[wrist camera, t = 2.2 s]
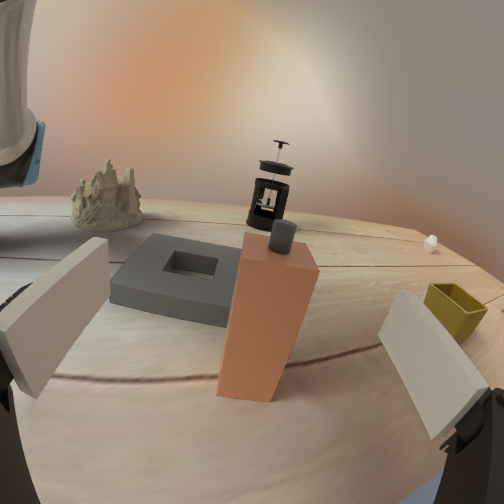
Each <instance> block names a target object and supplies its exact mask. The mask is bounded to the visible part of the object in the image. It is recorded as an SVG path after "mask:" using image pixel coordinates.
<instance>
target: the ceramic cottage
mask: <svg viewBox="0 0 504 504" xmlns="http://www.w3.org/2000/svg"><path fill="white" fill-rule="evenodd" d="M110 161H111V160H109V159H106V160H105V163H104V166H103V169H102V171H97V172H96V175H95V176H94V179H93V180H92V183H87V184H86V185H85V180H84V179H81V180H80V185H78V187H77V189H76V191H75V192H74V193H73V194H72V196H71V200H72V201H73V212H72V214H71V219H72V221H73V224H74V225H75V226H78V227H80V228H83V229H85V230H90V231H93V232H111V231H118V230H121V229H123V228H127V227H131V226H135V225H138V224H141V223H142V222H143V217H142V212H141V210H140V209H139V205H140V202H139V198H140V197H141V196H140V194H139V193H138V191H137V189H136V187H135V183H134V169H133V168H127V169H126V171H125V176H119V175H116V172H115V169H113V166H112V165H111V164H110Z"/></svg>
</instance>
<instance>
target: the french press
mask: <svg viewBox="0 0 504 504" xmlns="http://www.w3.org/2000/svg"><path fill="white" fill-rule="evenodd" d="M274 142H278V143H279V147H278V148H279V152H278V157H277V161H276V162H273V161H259V162H261V164H260V169H261V170H263V171H267V172H271V173H274V175H273V180H269V179H263V178H256V180H255V189H254V194H253V199H252V205H251V209H250V210H249V214H248V219H247V220H246V223H247V224H248V225H249V226H251V227H253V228H256V229H259V230H263V231H270V232H272V227H273V223H274V220H276V219H281V220H282V219H283V214H284V210H285V206H286V201H287V197H288V193H289V185H287V184H285V183H282V182H278V181H274V177H275V174H281V175H287V176H290V174H291V170H292V169H293V167H290V166H288V165H286V164H282V163H278V159H279V154H280V149H282V146H283V144H288V143H286V142H283V141H278V140H275V141H274ZM288 145H289V144H288ZM259 186H260V187H259ZM265 188H267V189H270V194H269V198H268V199H263V196H264V191H265ZM272 190H276V191H278V192H277V197H276V201H272V200H271V199H270V195H271V191H272ZM258 191H259V192H258ZM257 195H258V197H257ZM255 205H256V207H255ZM261 206H262V207H265V208H270V209H274V210H273V212H272V211H269V210H264V209H261Z"/></svg>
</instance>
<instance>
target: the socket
mask: <svg viewBox="0 0 504 504" xmlns="http://www.w3.org/2000/svg"><path fill="white" fill-rule="evenodd" d="M241 250H242V249H239V248H233V247H227V246H222V245H216V244H211V243H205V242H200V241H194V240H188V239H183V238H177V237H172V236H166V235H160V234H155V233H153V234H152V235H151V236H150V237H149V238H148V239H147V240H146V241H145V242H144V243H143V244H142V245H141V246H140V247H139V249H138V250H137V251H136V252H135V253H134V254H133V255H132V256H131V257H130V258H129V259H128V260H127V261H126V262H125V264H124V265H123V266H122V267H121V268H120V269H119V270H118V271H117V272H116V274H115V275H114V276H113V277H112V278H111V279H110V290H111V295H110V296H109V301H110V302H111V303H114V304H118V305H122V306H126V307H130V308H134V309H138V310H142V311H147V312H151V313H155V314H160V315H164V316H169V317H174V318H178V319H183V320H188V321H193V322H199V323H204V324H210V325H215V326H221V327H227V323H228V318H229V312H230V307H231V302H232V296H233V291H234V286H235V281H236V275H237V270H238V265H239V260H240V255H241ZM173 268H178V269H183V270H189V271H194V272H199V273H205V274H210V275H214V278H213V280H208V279H203V278H197V277H192V276H187V275H182V274H176V273H171V271H172V269H173Z"/></svg>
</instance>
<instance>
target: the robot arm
mask: <svg viewBox="0 0 504 504" xmlns="http://www.w3.org/2000/svg"><path fill="white" fill-rule="evenodd" d="M35 5H36V0H0V189H2V188H11V187H23V186H26V185H32V184H34V183H35V182H36V181H37V180H38V176H39V168H40V159H41V151H42V145H43V138H44V132H45V123H44V122H40V121H36V119H35V116H34V114H33V113H32V111H31V110H30V109H29V108H27V65H28V51H29V42H30V34H31V27H32V20H33V15H34V10H35ZM110 295H111V290H110V275H109V250H108V239H104V238H99V237H92V238H91V239H90V240H88V241H87V242H85V243H84V244H83V245H81V246H80V247H78V248H77V249H76V250H74V251H73V252H72V253H70V254H69V255H68V256H66V257H65V258H64V259H62V260H61V261H60V262H58V263H57V264H56V265H55V266H53V267H52V268H51V269H49V270H48V271H47V272H46V273H44V274H43V275H42V276H41V277H40V278H38V279H37V280H36V281H35V282H32V283H30V284H28V285H26V286H24V287H21V288H20V289H19V290H18V291H17V292H15V293H14V294H13V295H12V297H10V298H8V299H7V300H6V302H5V303H3V304H2V305H1V306H0V504H41V503H40V501H39V499H38V496H37V493H36V491H35V488H34V485H33V482H32V479H31V476H30V473H29V470H28V467H27V463H26V460H25V456H24V452H23V448H22V444H21V440H20V435H19V430H18V425H17V419H16V413H15V406H14V399H13V391H12V388H11V386H10V383H11V381H12V380H13V378H14V380H15V382H16V383H17V385H18V387H19V389H20V390H21V391H23V392H24V393H26V394H28V395H30V396H31V397H33V398H35V399H37V398H38V396H39V395H40V393H41V392H42V390H43V388H44V387H45V385H46V384H47V382H48V381H49V379H50V377H51V376H52V374H53V373H54V371H55V370H56V368H57V367H58V365H59V364H60V362H61V361H62V360H63V358H64V357H65V355H66V354H67V352H68V351H69V349H70V348H71V347H72V345H73V344H74V342H75V341H76V340H77V338H78V337H79V336H80V334H81V333H82V331H83V330H84V329H85V327H86V326H87V325H88V323H89V322H90V321H91V319H92V318H93V317H94V315H95V314H96V313H97V312H98V310H99V309H100V308H101V306H102V305H103V304H104V303H105V301H106V300H107V299H108V298H109V296H110ZM378 337H379V338H380V340H381V342H382V344H383V345H384V347H385V349H386V351H387V353H388V354H389V356H390V358H391V360H392V362H393V364H394V366H395V367H396V369H397V371H398V373H399V375H400V377H401V379H402V381H403V383H404V385H405V387H406V388H407V390H408V392H409V394H410V396H411V398H412V400H413V402H414V405H415V407H416V409H417V411H418V413H419V415H420V417H421V419H422V421H423V423H424V425H425V428H426V430H427V432H428V434H429V436H430V439H431V440H434V439H437V438H440V437H443V436H445V435H446V434H447V433H448V432H449V431H450V430H451V429H452V428H453V427H454V426H455V428H456V430H457V431H456V432H455V433H454V434H453V435H452V436H451V437H450V438H449V439H448V440H447V441H446V442H444V443H443V444H442V445H441V447H440V449H439V450H442V449H443V448H444V447H445V446H446V445H450V446H449V447H447V448H446V449H445V450H444V452H447V453H448V455H447V459H446V463H445V467H444V471H443V475H442V478H441V482H440V485H439V488H438V491H437V494H436V497H435V501H434V503H433V504H504V390H502V389H500V388H495V389H494V390H493V391H492V390H491V389H490V388H489V385H488V383H487V382H486V381H485V379H484V378H483V376H482V375H481V374H480V372H479V371H478V370H477V368H476V367H475V366H474V364H473V363H472V362H471V360H470V359H469V358H468V356H467V355H466V354H465V352H464V351H463V350H462V349H461V347H460V346H459V345H458V344H457V342H456V341H455V340H454V339H453V337H452V336H451V335H450V334H449V332H448V331H447V330H446V329H445V328H444V326H443V325H442V324H441V323H440V322H439V321H438V319H437V318H436V317H435V316H434V315H433V314H432V312H431V311H430V310H429V309H428V308H427V307H426V306H425V305H424V303H423V302H422V301H421V300H420V299H419V298H418V297H417V296H416V295H415V293H414V292H413V291H412V290H408V289H401V288H399V291H398V293H397V295H396V298H395V300H394V302H393V304H392V307H391V309H390V311H389V313H388V315H387V317H386V319H385V321H384V324H383V326H382V328H381V330H380V332H379V334H378Z"/></svg>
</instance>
